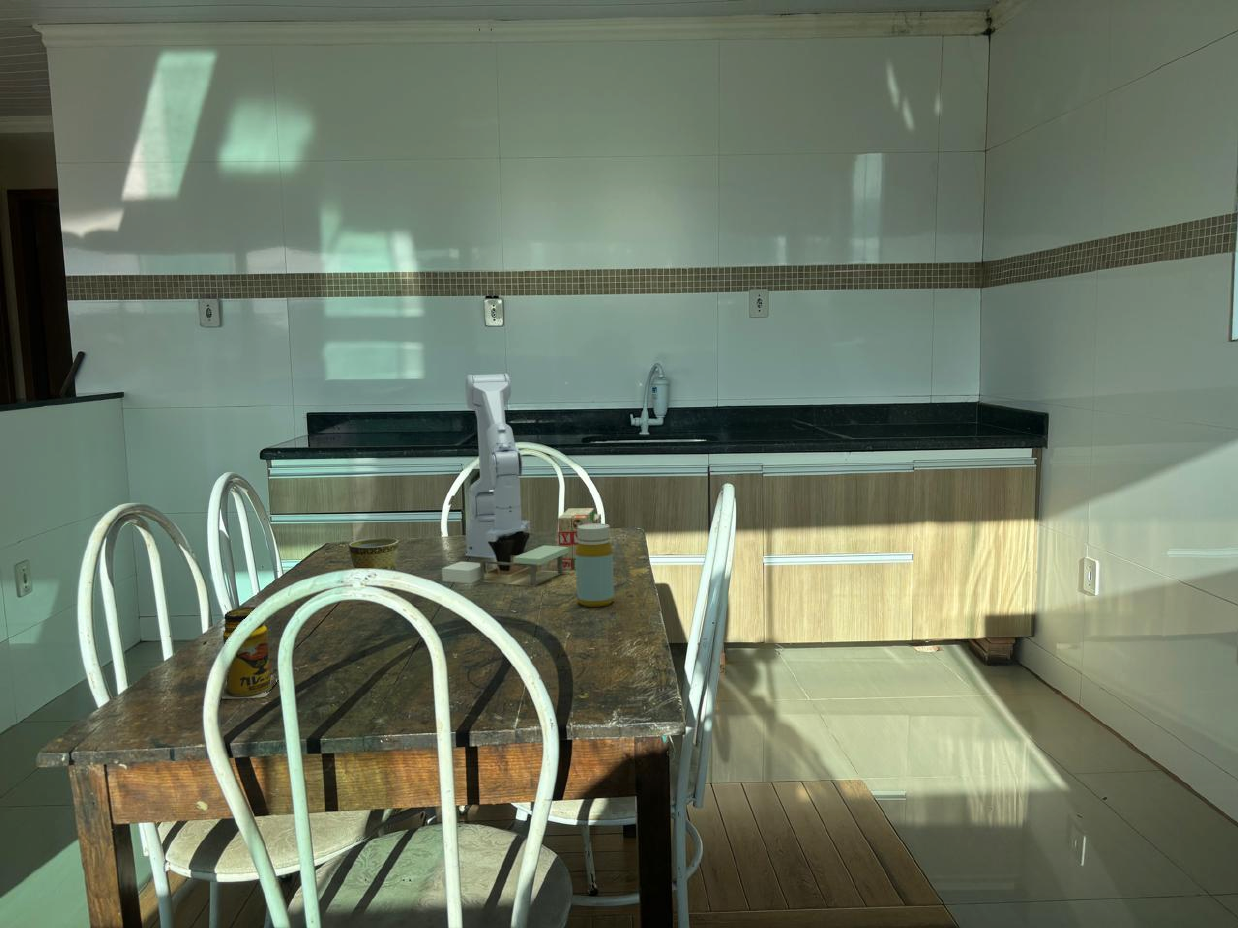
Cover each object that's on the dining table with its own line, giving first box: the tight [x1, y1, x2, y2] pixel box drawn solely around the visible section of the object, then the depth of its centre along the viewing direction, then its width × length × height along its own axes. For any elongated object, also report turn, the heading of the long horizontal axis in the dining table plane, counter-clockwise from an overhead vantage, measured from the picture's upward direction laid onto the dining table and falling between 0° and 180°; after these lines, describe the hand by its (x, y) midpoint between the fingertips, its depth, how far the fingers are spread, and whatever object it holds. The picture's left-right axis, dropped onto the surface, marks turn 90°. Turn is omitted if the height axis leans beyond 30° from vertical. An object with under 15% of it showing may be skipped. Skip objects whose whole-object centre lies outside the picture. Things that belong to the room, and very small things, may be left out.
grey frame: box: [479, 550, 565, 587], centre depth 204 cm, size 13×13×5 cm
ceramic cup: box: [348, 537, 399, 571], centre depth 198 cm, size 13×10×10 cm
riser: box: [441, 561, 489, 584], centre depth 204 cm, size 7×7×3 cm
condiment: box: [221, 606, 278, 700], centre depth 138 cm, size 7×8×12 cm
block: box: [496, 555, 523, 575], centre depth 205 cm, size 4×4×4 cm
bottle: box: [575, 522, 615, 608], centre depth 181 cm, size 7×7×15 cm
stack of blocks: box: [557, 507, 602, 571], centre depth 219 cm, size 21×6×12 cm, turn 171°
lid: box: [514, 544, 569, 566], centre depth 201 cm, size 6×13×1 cm, turn 154°
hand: (510, 568), depth 205 cm, fingers closed on block, 4 cm apart
